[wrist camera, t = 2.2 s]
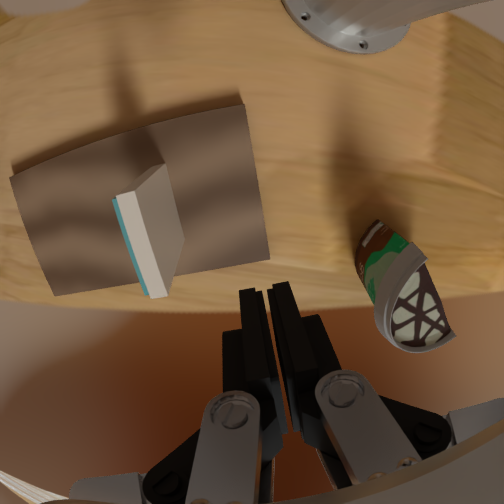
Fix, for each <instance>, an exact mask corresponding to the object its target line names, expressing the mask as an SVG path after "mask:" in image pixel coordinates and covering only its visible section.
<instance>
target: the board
mask: <svg viewBox="0 0 504 504" xmlns="http://www.w3.org/2000/svg"><path fill="white" fill-rule="evenodd" d="M164 163H166V167H167V171H168V175H169V180H170V184H171V188H172V192H173V196H174V200H175V204H176V208H177V212H178V215H179V219H180V223H181V227H182V231H183V234H184V238H185V240H184V244H183V247H182V250H181V253H180V257H179V260H178V263H177V267H176V270H175V274H174V276H179V275H185V274H190V273H196V272H202V271H207V270H213V269H219V268H224V267H230V266H236V265H241V264H247V263H252V262H258V261H263V260H269V259H270V254H269V248H268V241H267V235H266V229H265V222H264V216H263V210H262V204H261V198H260V192H259V186H258V180H257V174H256V168H255V162H254V156H253V150H252V144H251V138H250V132H249V127H248V121H247V115H246V110H245V104H242V105H236V106H230V107H225V108H220V109H215V110H210V111H205V112H200V113H195V114H191V115H186V116H182V117H178V118H174V119H170V120H166V121H162V122H158V123H155V124H151V125H147V126H144V127H140V128H137V129H133V130H130V131H127V132H123V133H120V134H117V135H114V136H111V137H108V138H105V139H102V140H99V141H96V142H93V143H90V144H88V145H85V146H82V147H79V148H77V149H74V150H72V151H69V152H66V153H64V154H61V155H59V156H56V157H54V158H52V159H49V160H47V161H44V162H42V163H40V164H38V165H35V166H33V167H31V168H29V169H26V170H24V171H22V172H20V173H18V174H16V175H14V176H12V177H10V178H9V179H10V182H11V186H12V189H13V192H14V196H15V199H16V202H17V205H18V208H19V211H20V214H21V217H22V220H23V223H24V226H25V228H26V231H27V234H28V236H29V239H30V242H31V244H32V247H33V249H34V251H35V254H36V256H37V259H38V261H39V263H40V266H41V268H42V270H43V272H44V275H45V277H46V279H47V281H48V283H49V285H50V287H51V290H52V292H53V294H54V296H60V295H66V294H72V293H78V292H85V291H91V290H97V289H103V288H109V287H115V286H120V285H126V284H132V283H138V282H140V281H139V278H138V276H137V273H136V270H135V268H134V265H133V262H132V260H131V257H130V254H129V251H128V248H127V245H126V242H125V239H124V237H123V234H122V230H121V227H120V224H119V221H118V218H117V215H116V212H115V208H114V205H113V202H112V199H113V198H114V197H115V196H116V195H117V194H118V193H119V192H121V191H122V190H123V189H124V188H126V187H127V186H128V185H129V184H130V183H132V182H133V181H134V180H135V179H137V178H138V177H139V176H140V175H142V174H143V173H144V172H146V171H147V170H148V169H149V168H151V167H152V166H156V165H160V164H164Z"/></svg>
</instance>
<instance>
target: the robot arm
mask: <svg viewBox="0 0 504 504" xmlns="http://www.w3.org/2000/svg"><path fill="white" fill-rule="evenodd" d="M487 1H492V0H282V2H283V4H284V6H285V8H286V10H287V12H288V13H289V15H290V16H291V17H292V19H293V20H294V21H295V22H296V23H297V24H298V25H299V27H300V28H301V29H302V30H303V31H305V32H306V33H307V34H309V35H310V36H311V37H313V38H314V39H315V40H317V41H319V42H321V43H323V44H324V45H326V46H328V47H331V48H334V49H336V50H339V51H343V52H347V53H351V54H373V53H378V52H381V51H385V50H387V49H389V48H391V47H394V46H395V45H396V44H398V43H399V42H400V41H401V40H402V39H403V38H404V36H405V35H406V34H407V32H408V29H409V27H410V24H411V23H412V22H415V21H418V20H421V19H424V18H427V17H430V16H433V15H437V14H440V13H443V12H447V11H450V10H454V9H457V8H461V7H466V6H470V5H473V4H478V3H482V2H487ZM301 17H305V18H306V21H305V20H303V19H301ZM359 44H361V45H362V48H361V47H360V45H359ZM272 286H273V289H267V293H268V299H269V305H270V311H271V317H272V323H273V329H274V335H275V341H276V347H277V353H278V358H279V363H280V367H281V372H282V377H283V381H284V387H285V392H286V396H287V401H288V406H289V411H290V416H291V421H292V425H293V430H294V432H296V431H301V436H302V439H304V442H305V443H306V444H308V445H310V446H313V447H314V448H316V449H317V453H318V455H319V457H320V460H321V462H322V464H323V466H324V468H325V471H326V473H327V475H328V477H329V479H330V481H331V484H332V486H333V488H334V490H335V491H331V492H327V493H322V494H318V495H313V496H309V497H304V498H299V499H293V500H287V501H281V502H274V503H273V483H274V457H275V455H276V454H277V453H278V452H279V451H280V450H281V449H282V448H283V440H282V434H286V433H288V429H287V422H286V416H285V411H284V405H283V399H282V393H281V387H280V381H279V375H278V370H277V365H276V360H275V355H274V350H273V345H272V340H271V334H270V329H269V324H268V319H267V314H266V309H265V304H264V299H263V294H262V291H257V292H256V291H255V288H249V289H244V290H239V298H240V311H241V323H242V329H237V330H231V331H225V332H223V335H222V347H223V348H222V353H223V354H222V356H223V393H221V394H219V395H217V396H216V397H214V398H213V399H212V400H211V401H210V402H209V403H208V404H207V406H206V409H205V411H204V415H203V420H202V425H201V428H200V429H199V430H198V431H197V432H195V433H194V434H193V435H192V436H191V437H189V438H188V439H187V440H186V441H185V442H184V443H182V445H180V446H179V447H178V448H176V449H175V450H174V451H173V452H171V453H170V454H169V455H168V456H167V457H166V458H164V459H163V460H162V461H160V462H159V463H158V464H157V465H155V466H154V467H153V468H152V469H151V470H150V471H149V472H148V473H146V474H139V473H138V472H135V473H128V474H121V475H113V476H104V477H95V478H84V479H81V480H78V481H77V482H75V483H74V484H73V486H72V487H71V489H70V494H69V499H63V500H53V501H48V502H44V503H41V504H504V398H498V399H494V400H491V401H488V402H485V403H481V404H477V405H474V406H470V407H466V408H462V409H458V410H454V411H449V412H448V414H447V415H444V416H440V415H438V414H436V413H433V412H430V411H426V410H423V409H420V408H417V407H413V406H410V405H407V404H404V403H401V402H398V401H395V400H392V399H389V398H386V397H383V396H380V395H378V394H377V393H376V391H375V390H374V389H373V387H372V386H371V384H370V383H369V381H368V380H367V379H366V378H365V377H364V376H363V375H362V374H360V373H357V372H356V371H351V370H342V369H341V366H340V364H339V361H338V359H337V356H336V354H335V351H334V350H333V347H332V344H331V342H330V340H329V337H328V335H327V332H326V330H325V327H324V325H323V323H322V320H321V318H320V316H319V315H318V314H316V315H311V316H306V317H301V316H300V313H299V310H298V307H297V304H296V301H295V299H294V296H293V293H292V290H291V287H290V284H289V282H288V281H287V282H281V283H276V284H272Z"/></svg>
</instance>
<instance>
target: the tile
mask: <svg viewBox="0 0 504 504" xmlns="http://www.w3.org/2000/svg"><path fill="white" fill-rule="evenodd" d="M112 202H113V205H114V208H115V212H116V215H117V218H118V221H119V224H120V227H121V230H122V234H123V237H124V239H125V242H126V245H127V248H128V251H129V254H130V257H131V260H132V262H133V265H134V268H135V270H136V273H137V276H138V278H139V281H140V284H141V286H142V289H143V291H144V294H145V295H150V298H151V299H153V298H159V297H166V296H168V295H169V291H170V287H171V284H172V280H173V277H174V274H175V270H176V267H177V263H178V260H179V257H180V253H181V250H182V247H183V244H184V240H185V238H184V234H183V231H182V227H181V223H180V219H179V215H178V212H177V208H176V204H175V200H174V196H173V192H172V188H171V184H170V180H169V175H168V171H167V167H166V163H164V164H160V165H156V166H152V167H151V168H149V169H148V170H147V171H146V172H144V173H143V174H142V175H140V176H139V177H138V178H137V179H135V180H134V181H133V182H132V183H130V184H129V185H128V186H127V187H126V188H124V189H123V190H122V191H121V192H119V193H118V194H117V195H116V196H115V197H114V198H113V199H112Z"/></svg>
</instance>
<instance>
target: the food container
mask: <svg viewBox="0 0 504 504" xmlns="http://www.w3.org/2000/svg"><path fill="white" fill-rule="evenodd" d="M427 260H428V258H427V257H426V256H425V255H424V254H423V252H422V251H421V250H420V249H419V248H418V247H417V246H416V245H415V244H414V243H413V242H411V243H408V242H407V241H406V240H405V239H403V238H402V237H401V236H399V235H398V234H397V233H396V232H394V231H393V230H392V229H390V228H389V227H388V226H386V225H385V224H383V223H382V222H381V221H379V220H378V219H377V220H376V221H375V222H374V223H373V224H372V225H371V226H370V227H369V228H368V229H367V231H366V232H365V234H364V235H363V237H362V238H361V240H360V243H359V245H358V248H357V251H356V258H355V267H356V270H357V274H358V276H359V278H360V279H361V281H362V283H363V285H364V287H365V289H366V291H367V292H368V294H369V296H370V298H371V300H372V302H373V304H374V318H375V322H376V326H377V327H378V329H379V331H380V332H381V333H382V335H383V336H384V337H385V338H386V339H387V340H389V341H390V342H391V343H392V344H393V345H394V346H396V347H398V348H400V349H402V350H404V351H406V352H412V353H422V352H427V351H431V350H433V349H436V348H438V347H440V346H442V345H444V344H445V343H447V342H449V341H451V340H452V339H453V338H455V337H456V335H455V333H454V332H453V331H452V329H451V328H450V326H449V324H448V322H447V318H446V316H445V312H444V309H443V306H442V302H441V300H440V297H439V295H438V293H437V291H436V288H435V286H434V284H433V282H432V279H431V277H430V275H429V272H428V270H427V268H426V265H425V263H424V262H425V261H427Z"/></svg>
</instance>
